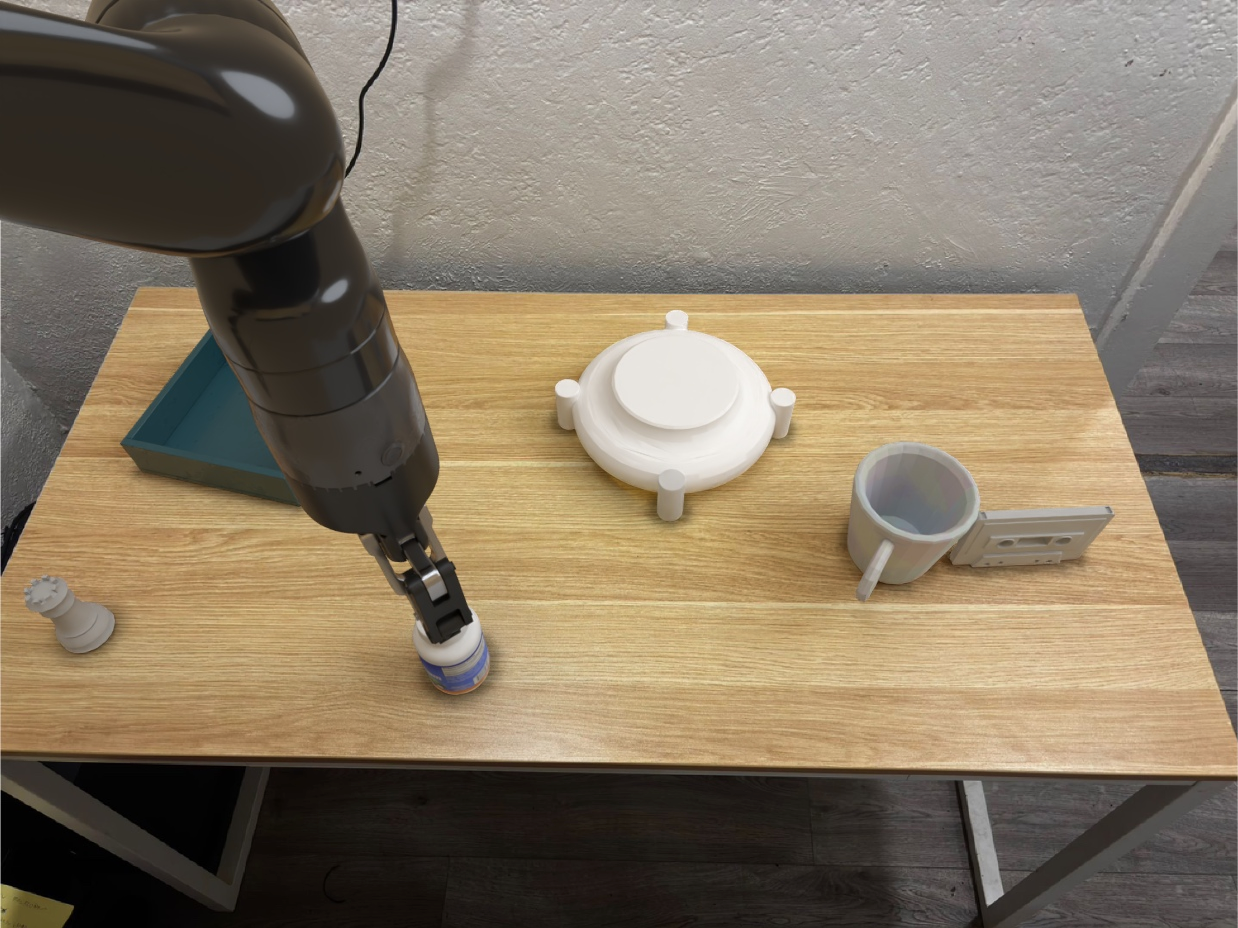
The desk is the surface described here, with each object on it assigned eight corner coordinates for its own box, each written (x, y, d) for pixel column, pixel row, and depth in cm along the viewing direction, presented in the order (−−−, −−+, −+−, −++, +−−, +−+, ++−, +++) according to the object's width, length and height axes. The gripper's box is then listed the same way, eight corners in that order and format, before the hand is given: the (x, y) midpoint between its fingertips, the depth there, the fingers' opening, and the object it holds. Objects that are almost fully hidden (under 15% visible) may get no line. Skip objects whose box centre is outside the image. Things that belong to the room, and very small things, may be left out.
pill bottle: (419, 653, 72) (394, 601, 64) (478, 627, 74) (460, 572, 66) (441, 708, 69) (417, 659, 62) (501, 679, 71) (485, 628, 63)
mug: (961, 535, 79) (999, 473, 71) (901, 660, 71) (935, 606, 63) (858, 486, 82) (883, 422, 74) (791, 600, 75) (810, 542, 67)
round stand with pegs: (545, 515, 81) (538, 472, 75) (569, 339, 95) (565, 291, 89) (795, 527, 80) (808, 484, 74) (781, 347, 94) (791, 299, 88)
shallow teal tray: (299, 506, 82) (284, 479, 78) (141, 471, 84) (119, 443, 81) (374, 377, 92) (364, 347, 88) (231, 350, 94) (215, 320, 91)
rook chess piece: (73, 665, 72) (19, 624, 65) (57, 629, 74) (2, 585, 68) (125, 635, 74) (77, 591, 67) (107, 600, 76) (59, 554, 69)
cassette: (1073, 546, 78) (1111, 500, 72) (1080, 564, 77) (1120, 518, 71) (946, 552, 78) (973, 506, 72) (951, 570, 77) (979, 524, 70)
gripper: (223, 368, 43) (317, 534, 56) (333, 564, 36) (412, 703, 49) (357, 310, 46) (418, 482, 59) (485, 483, 39) (521, 635, 52)
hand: (415, 582), depth 54 cm, fingers open, 8 cm apart
